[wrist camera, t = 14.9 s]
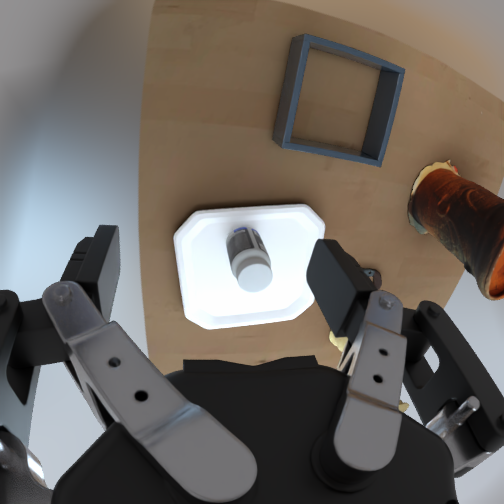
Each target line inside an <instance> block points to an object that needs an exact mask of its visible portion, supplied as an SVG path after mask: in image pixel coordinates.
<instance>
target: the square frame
mask: <svg viewBox="0 0 504 504" xmlns="http://www.w3.org/2000/svg"><path fill="white" fill-rule="evenodd" d="M309 47H310V48H313V49H317V50H320V51H324V52H327V53H331V54H334V55H337V56H340V57H344V58H347V59H350V60H353V61H356V62H359V63H361V64H364V65H367V66H370V67H372V68H375V69H378V70H380V71H381V72H380V77H379V81H378V86H377V90H376V95H375V99H374V103H373V108H372V112H371V116H370V120H369V124H368V128H367V132H366V136H365V140H364V144H363V147H362V151H358V150H354V149H349V148H345V147H340V146H336V145H331V144H326V143H321V142H316V141H311V140H305V139H300V138H294V137H291V134H292V129H293V124H294V119H295V115H296V110H297V105H298V100H299V95H300V91H301V86H302V81H303V76H304V71H305V66H306V61H307V56H308V51H309ZM404 74H405V69H404V68H402V67H399V66H397V65H395V64H392V63H390V62H388V61H385V60H383V59H380V58H378V57H375V56H373V55H370V54H367V53H365V52H362V51H359V50H356V49H354V48H351V47H348V46H345V45H342V44H339V43H336V42H332V41H329V40H326V39H323V38H319V37H316V36H312V35H309V34H302V35H299V36H296V37H293V38H292V43H291V48H290V53H289V58H288V63H287V68H286V73H285V78H284V83H283V88H282V93H281V98H280V103H279V108H278V113H277V118H276V123H275V128H274V134H273V139H272V140H273V141H274V142H275V143H276V144H278V145H279V146H280V147H281V148H283V149H290V150H296V151H302V152H308V153H313V154H319V155H324V156H330V157H335V158H340V159H345V160H350V161H354V162H359V163H364V164H368V165H373V166H377V167H381V165H382V161H383V158H384V155H385V151H386V147H387V144H388V140H389V136H390V133H391V129H392V125H393V121H394V117H395V113H396V109H397V105H398V101H399V96H400V92H401V88H402V83H403V78H404Z"/></svg>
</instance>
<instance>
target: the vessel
mask: <svg viewBox="0 0 504 504" xmlns="http://www.w3.org/2000/svg"><path fill="white" fill-rule="evenodd" d="M450 161H451V160H448V161H446V162H445V163H440V162H435V163H434V164H433V165H432V166H427V167H425V168H424V170H422V171H421V172H420V176H419V177H418V178H417V179H416V181H415V184H414V186H413V191H412V193H411V196H412V198H411V199H410V200H411V202H410V203H409V205H408V208H409V211H408V216H410V218H409V220H410V225H412V226H415V228H416V229H417V231H418V232H419V233H420V234H427V233H428V232H429V233H430V234H431V235H433V236H434V237H435V238H436V239H437V240H438V241H439V242H440V243H441V244H443V245H444V246H445V248H447V249H448V250H449V251H450V252H451V253H452V254H454V255H455V256H456V257H457V258H458V259H459V260H460V261H461V262H462V263H463V264H464V268H465V269H466V270H467V271H468V272H469V273H470V274H472V275H473V276H474V277H475V279H476V281H477V285H478V287H479V289H480V291H481V293H482V294H483V295H484V296H485V297H486V298H487V299H490V300H500V299H503V298H504V199H502V198H500V197H498V196H496V195H495V194H493V193H492V192H490V191H489V190H487V189H485V188H484V187H482V186H480V185H478V184H476V183H474V182H471V181H468V180H466V179H464V178H462V177H460V176H461V175H459V176H458V170H457V168H456V167H455V165H454V166H453V167H452V166H451V165H450Z"/></svg>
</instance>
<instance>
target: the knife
mask: <svg viewBox="0 0 504 504" xmlns="http://www.w3.org/2000/svg"><path fill="white" fill-rule="evenodd" d="M363 270H364V273H366V274H367V276H368V277H369V276H372V277H374V281H373V284H374V285H375V286H376V288H377V289H380V287H381V285H382V280H381V275H380V273H379V272H378V271H376V270H372V269H363ZM370 271H371V272H370ZM369 272H370V273H369Z"/></svg>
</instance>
